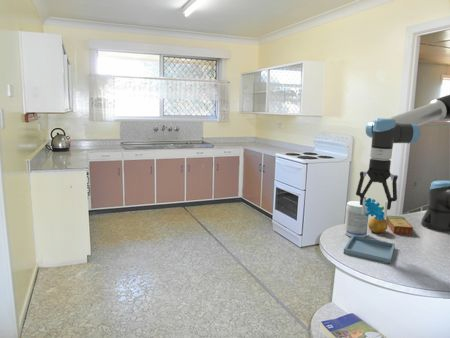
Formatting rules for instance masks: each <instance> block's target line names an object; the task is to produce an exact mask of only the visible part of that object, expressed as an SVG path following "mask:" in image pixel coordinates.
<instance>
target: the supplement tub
mask: <svg viewBox="0 0 450 338" xmlns="http://www.w3.org/2000/svg"><path fill="white" fill-rule="evenodd" d="M367 208H368V207H366V206H365V213H364V214H362V205H360V200H359V201H358V200H357V201H356V200H351V201H348V202H346V208H345V209H346V210H345V221H344V234H345V236H349V237H350V238H351V237H352V235H355V236H360V237H364V238H366V237H367V234H368V223H369V215H368V216H365V214H366V213H368V211H367Z"/></svg>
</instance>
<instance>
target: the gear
mask: <svg viewBox="0 0 450 338" xmlns="http://www.w3.org/2000/svg"><path fill="white" fill-rule="evenodd" d="M365 202H366V203H365V206H366V207H368V208H367V211H368V213H366V214H365V216H368V217H369V216H371V217H375V219H376V220H378V219H379V221H382V220H383V219H385V220H386V218H384V210H385V206H381V204H380V203H379V202H376V200H375V199H374V198H373V199H372V198H369V197H368V198H366V201H365ZM375 202H376V203H375ZM378 217H379V218H378Z"/></svg>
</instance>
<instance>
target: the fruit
mask: <svg viewBox="0 0 450 338" xmlns="http://www.w3.org/2000/svg"><path fill="white" fill-rule="evenodd" d="M375 217H376V216H371V218H370V219H368V225H367V227H368V228H369V231H371V232H373V233H376V234H382V233H384V232H386V231H387V229H388V225H387V222H386V218H385V219H383V220H382V221H379V219H378V220H376V219H375ZM378 218H379V217H378Z"/></svg>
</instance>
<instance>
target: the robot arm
mask: <svg viewBox="0 0 450 338" xmlns="http://www.w3.org/2000/svg"><path fill="white" fill-rule="evenodd" d="M443 120H450V94H447V95H445V96H442V97H438V98H435V99H434V100H431V101H430V102H428V104H426V105H423V106H419V107H417V108H414V109H411V110H408V111H406V112H403V113H400V114H398V115H394V116H391V117H388V118H385V117H384V118H382V117H381V118H376V119H374V120H371V121H369V122H368V123H367V124H366V126H365V134H366V136H368V137H369V138H371V148H370V159H369V164H368V169H367V170H365V171H364V170H361V171H360V173H359V176H360V177H359V181H358V185H357V188H356V192H355V195H356V196H357V197H359V198H360V199H359V202H360V205H362V214H364V213H365V203H366V202H365V201H366V200H367V196H366V194H367V193H368V190H369V189H370V187H371V185H372V184H373V183H378V184H381V185H382V187H383V190H384V194H385V197H386V200H385V204H384V209H383V212H384V218H385V219H386V216H388V215H387V214H388V211H390V210H391V208H392V202H397V200H398V190H397V189H398V188H397V181H398V178H399V176H398V175H397V174H392V173H391V163H392V161H391V159H392V156H393V147H394V144H414V143H416V142H418V141H419V140H420V138H421V135H422V131H421V127H420V126H422V125H424V124H427V123H430V122H433V121H437V122H439V121H443ZM367 175H368V178H369V180H368V182H367V184H366V186H365V187H364V189H363V190H362V187H363V183H364V180H365V177H367ZM389 178H390V179H391V181H392V183H391V184H392V196H391V192H390V189H389V186H388V182H387V180H388V179H389ZM427 201H428V202H427V208H426V211H425V213H424V215H423V216H422V218H421V222H420V225H421V226H422V227H424V228H425V229H429V230H432V231H436V232H441V233H442V232H443V233H450V180H434V181H432V182H431V184H430V187H429V193H428V200H427Z"/></svg>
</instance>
